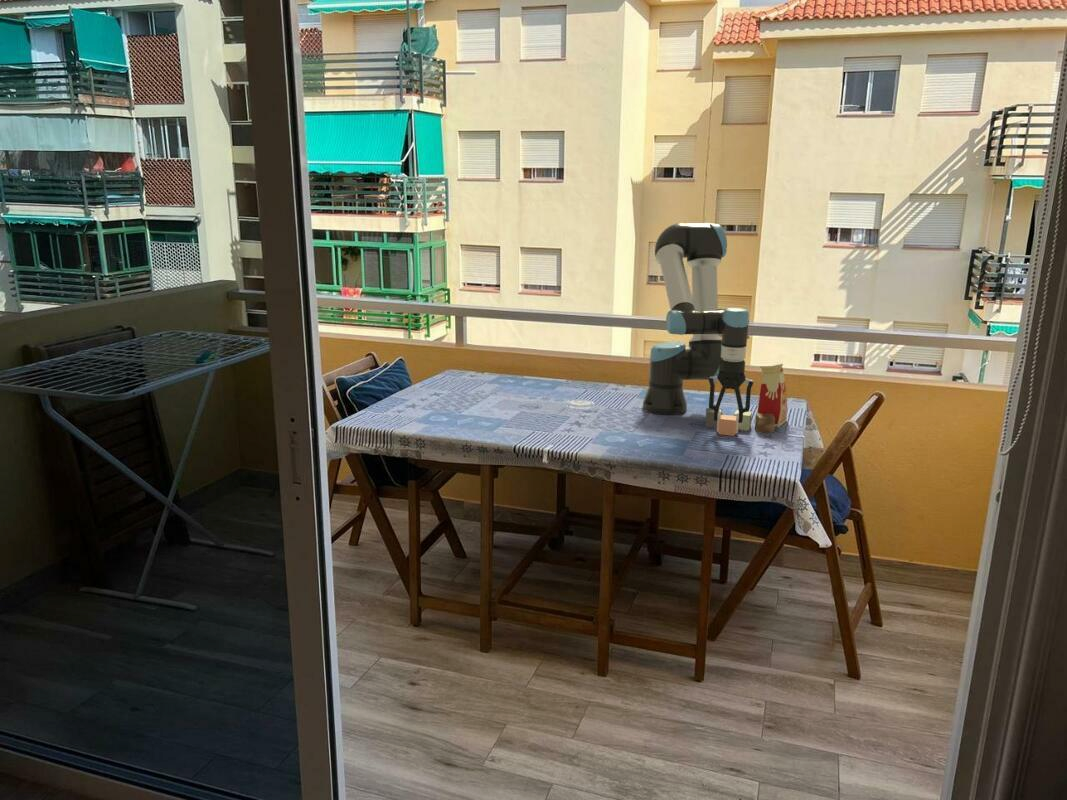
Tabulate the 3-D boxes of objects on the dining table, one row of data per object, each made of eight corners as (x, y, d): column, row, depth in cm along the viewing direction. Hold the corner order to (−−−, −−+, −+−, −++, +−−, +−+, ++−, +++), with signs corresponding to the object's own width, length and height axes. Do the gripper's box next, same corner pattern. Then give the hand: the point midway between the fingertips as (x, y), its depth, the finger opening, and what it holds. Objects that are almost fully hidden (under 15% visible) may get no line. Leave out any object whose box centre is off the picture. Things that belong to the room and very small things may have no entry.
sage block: (732, 429, 249) (733, 414, 248) (735, 424, 254) (736, 410, 252) (748, 430, 247) (749, 415, 246) (750, 426, 252) (752, 411, 250)
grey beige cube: (705, 427, 251) (706, 412, 250) (705, 422, 256) (706, 408, 255) (721, 427, 250) (722, 412, 249) (720, 423, 255) (721, 408, 254)
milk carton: (786, 420, 259) (792, 361, 253) (779, 427, 251) (785, 366, 246) (759, 416, 263) (764, 358, 258) (751, 423, 255) (756, 363, 250)
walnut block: (757, 432, 245) (758, 417, 244) (754, 428, 250) (756, 413, 249) (773, 433, 245) (775, 418, 244) (770, 428, 250) (772, 413, 248)
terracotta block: (718, 434, 243) (719, 418, 241) (719, 429, 247) (720, 414, 246) (734, 435, 241) (736, 420, 240) (735, 431, 246) (737, 416, 245)
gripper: (701, 359, 237) (697, 432, 244) (762, 363, 232) (756, 437, 238) (704, 354, 244) (699, 425, 250) (763, 358, 239) (757, 430, 245)
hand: (727, 431), depth 244 cm, fingers closed on terracotta block, 5 cm apart
